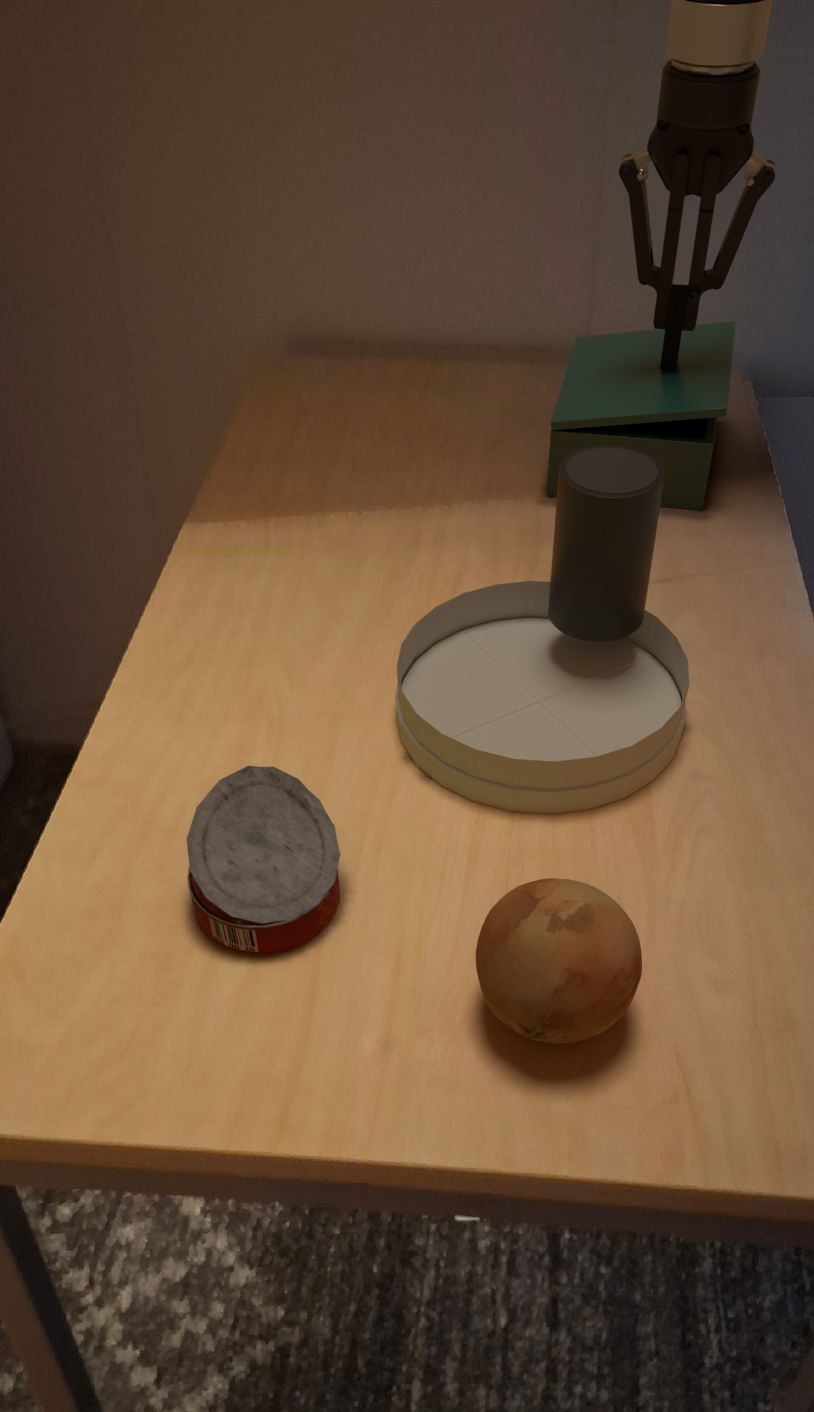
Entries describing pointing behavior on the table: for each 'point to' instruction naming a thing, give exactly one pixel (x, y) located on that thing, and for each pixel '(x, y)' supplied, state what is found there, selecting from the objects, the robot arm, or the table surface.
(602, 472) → the gray cylinder
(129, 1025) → the table surface
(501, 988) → the onion
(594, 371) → the lid
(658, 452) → the green box
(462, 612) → the dish
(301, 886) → the canned food
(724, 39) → the robot arm
